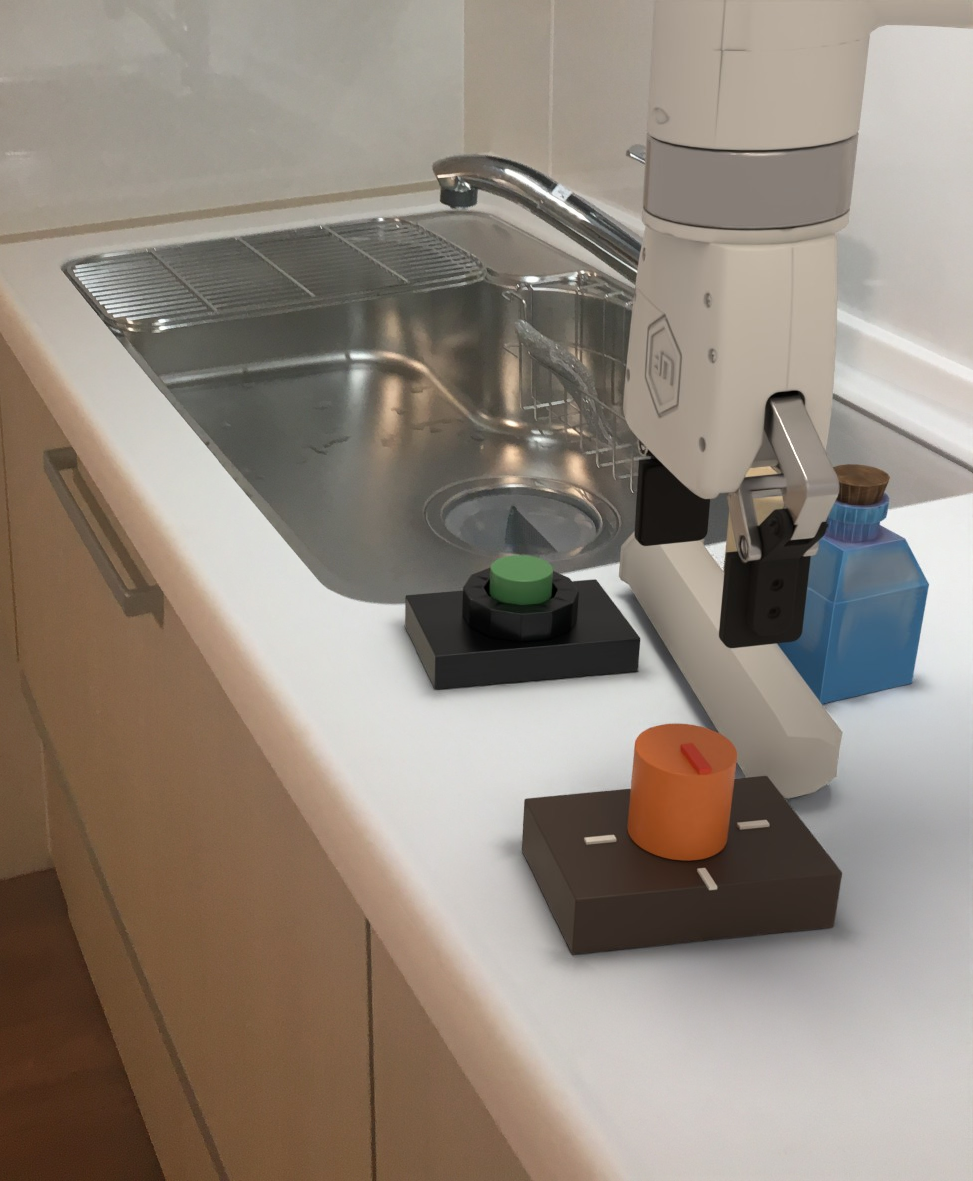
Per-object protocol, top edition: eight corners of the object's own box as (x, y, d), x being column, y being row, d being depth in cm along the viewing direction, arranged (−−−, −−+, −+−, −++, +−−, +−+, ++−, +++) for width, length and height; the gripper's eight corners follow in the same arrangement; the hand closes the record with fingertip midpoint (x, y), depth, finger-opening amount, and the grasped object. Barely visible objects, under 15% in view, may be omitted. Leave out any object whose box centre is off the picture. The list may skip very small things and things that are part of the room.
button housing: (594, 610, 100) (598, 552, 99) (638, 671, 93) (643, 610, 92) (404, 626, 99) (405, 568, 98) (434, 689, 92) (436, 627, 91)
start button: (541, 578, 97) (542, 552, 96) (559, 605, 93) (561, 578, 93) (482, 583, 96) (483, 557, 95) (498, 610, 93) (499, 583, 92)
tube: (880, 740, 78) (716, 528, 101) (780, 715, 77) (637, 507, 100) (831, 828, 80) (681, 602, 103) (734, 805, 80) (604, 582, 102)
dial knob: (613, 811, 75) (620, 722, 73) (703, 801, 76) (713, 713, 74) (648, 866, 71) (657, 774, 69) (743, 855, 72) (755, 763, 70)
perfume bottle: (751, 655, 94) (774, 464, 89) (839, 636, 96) (867, 447, 91) (819, 704, 89) (848, 504, 84) (911, 683, 91) (946, 486, 86)
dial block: (758, 823, 79) (765, 768, 78) (837, 931, 72) (846, 873, 70) (519, 846, 78) (522, 791, 77) (574, 959, 71) (578, 900, 69)
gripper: (578, 146, 68) (563, 516, 76) (742, 247, 53) (703, 699, 60) (749, 131, 69) (718, 500, 76) (962, 227, 53) (896, 677, 61)
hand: (712, 588), depth 68 cm, fingers open, 9 cm apart
